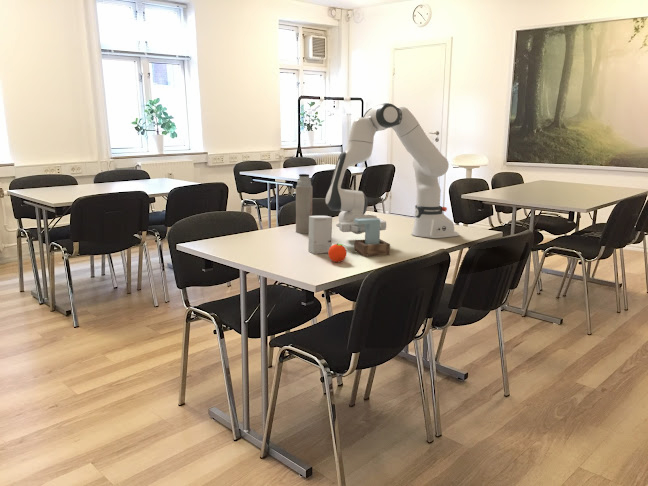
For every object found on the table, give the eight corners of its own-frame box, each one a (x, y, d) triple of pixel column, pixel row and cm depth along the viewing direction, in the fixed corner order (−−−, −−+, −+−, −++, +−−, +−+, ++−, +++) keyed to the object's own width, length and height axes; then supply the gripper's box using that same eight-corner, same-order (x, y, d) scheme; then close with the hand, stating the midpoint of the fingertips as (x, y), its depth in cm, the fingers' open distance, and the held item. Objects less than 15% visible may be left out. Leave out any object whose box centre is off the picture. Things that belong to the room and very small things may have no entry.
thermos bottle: (313, 230, 266) (314, 173, 260) (310, 233, 258) (310, 175, 252) (298, 229, 268) (298, 173, 262) (294, 232, 260) (293, 174, 254)
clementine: (347, 259, 208) (348, 241, 206) (350, 264, 201) (350, 245, 200) (327, 260, 207) (327, 241, 206) (329, 264, 200) (329, 245, 199)
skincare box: (313, 254, 216) (313, 217, 213) (307, 251, 222) (307, 215, 218) (332, 252, 219) (332, 216, 216) (326, 249, 225) (326, 214, 222)
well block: (379, 249, 226) (379, 238, 225) (389, 255, 216) (390, 244, 215) (354, 250, 223) (354, 240, 222) (364, 256, 213) (364, 245, 212)
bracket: (374, 248, 222) (375, 217, 219) (379, 251, 218) (380, 219, 215) (353, 250, 219) (354, 218, 217) (357, 252, 215) (357, 220, 213)
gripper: (334, 217, 230) (345, 222, 218) (378, 215, 237) (392, 220, 224) (334, 231, 232) (345, 237, 219) (378, 229, 238) (391, 235, 225)
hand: (369, 229), depth 221 cm, fingers open, 8 cm apart
